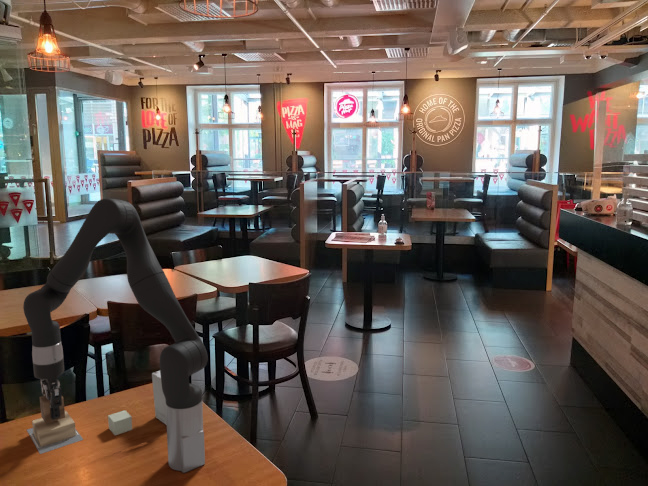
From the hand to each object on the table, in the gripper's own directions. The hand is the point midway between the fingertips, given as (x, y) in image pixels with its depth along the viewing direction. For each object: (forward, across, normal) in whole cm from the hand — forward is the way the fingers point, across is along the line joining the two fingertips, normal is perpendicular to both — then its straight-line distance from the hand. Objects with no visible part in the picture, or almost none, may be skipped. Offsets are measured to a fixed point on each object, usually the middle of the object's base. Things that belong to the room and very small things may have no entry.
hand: (53, 414), depth 146 cm
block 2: (+7, -9, -15) cm, 19 cm away
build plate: (+7, 0, 0) cm, 7 cm away
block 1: (+1, 0, 0) cm, 1 cm away
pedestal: (+6, 0, 0) cm, 6 cm away
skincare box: (+7, -11, -30) cm, 32 cm away
